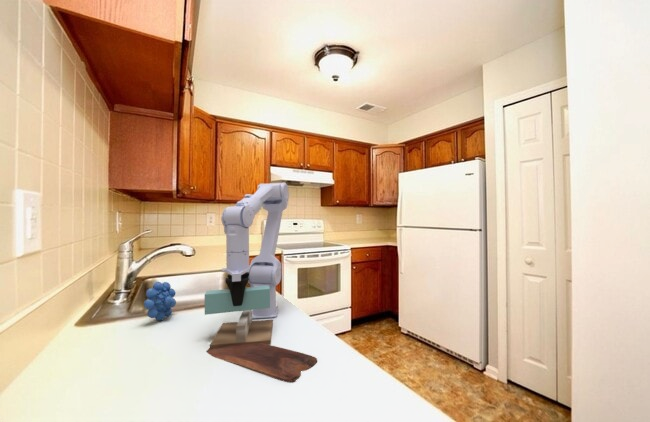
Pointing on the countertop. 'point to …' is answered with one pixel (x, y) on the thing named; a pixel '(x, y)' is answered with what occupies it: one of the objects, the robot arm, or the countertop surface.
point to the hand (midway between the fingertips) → (238, 303)
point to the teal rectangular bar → (223, 303)
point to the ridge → (243, 332)
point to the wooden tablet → (266, 359)
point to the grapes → (160, 300)
